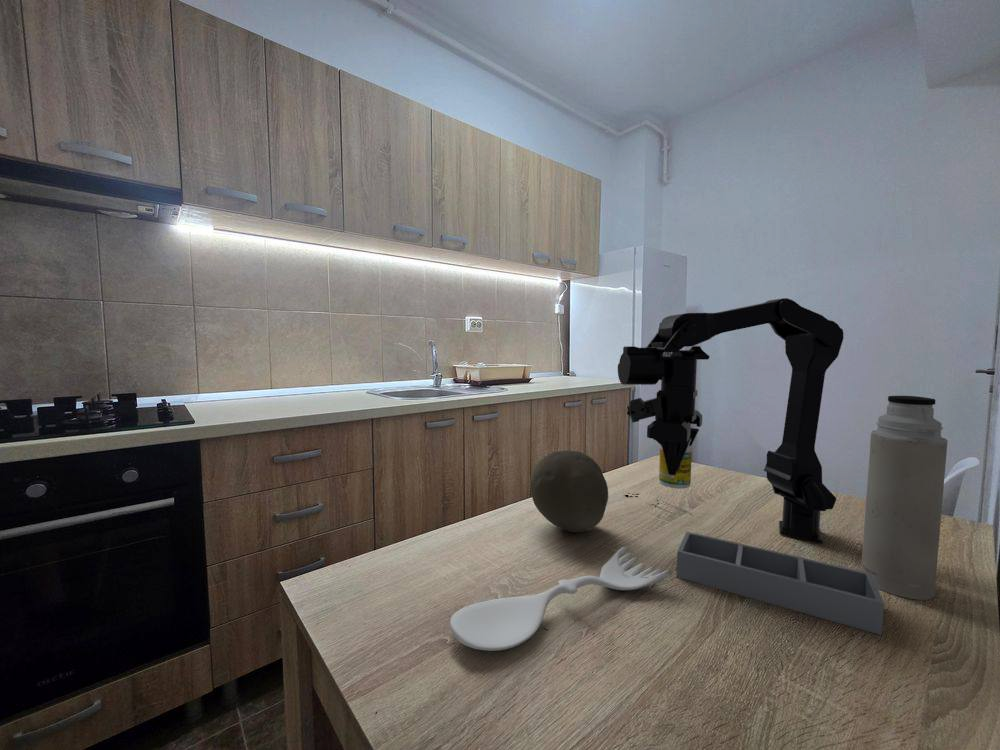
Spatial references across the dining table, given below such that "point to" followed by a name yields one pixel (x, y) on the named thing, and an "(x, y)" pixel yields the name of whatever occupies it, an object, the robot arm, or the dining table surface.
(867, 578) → the slot holder
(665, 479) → the supplement bottle
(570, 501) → the brown coconut
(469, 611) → the spoon
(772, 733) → the dining table surface
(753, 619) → the dining table surface
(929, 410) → the thermos bottle
